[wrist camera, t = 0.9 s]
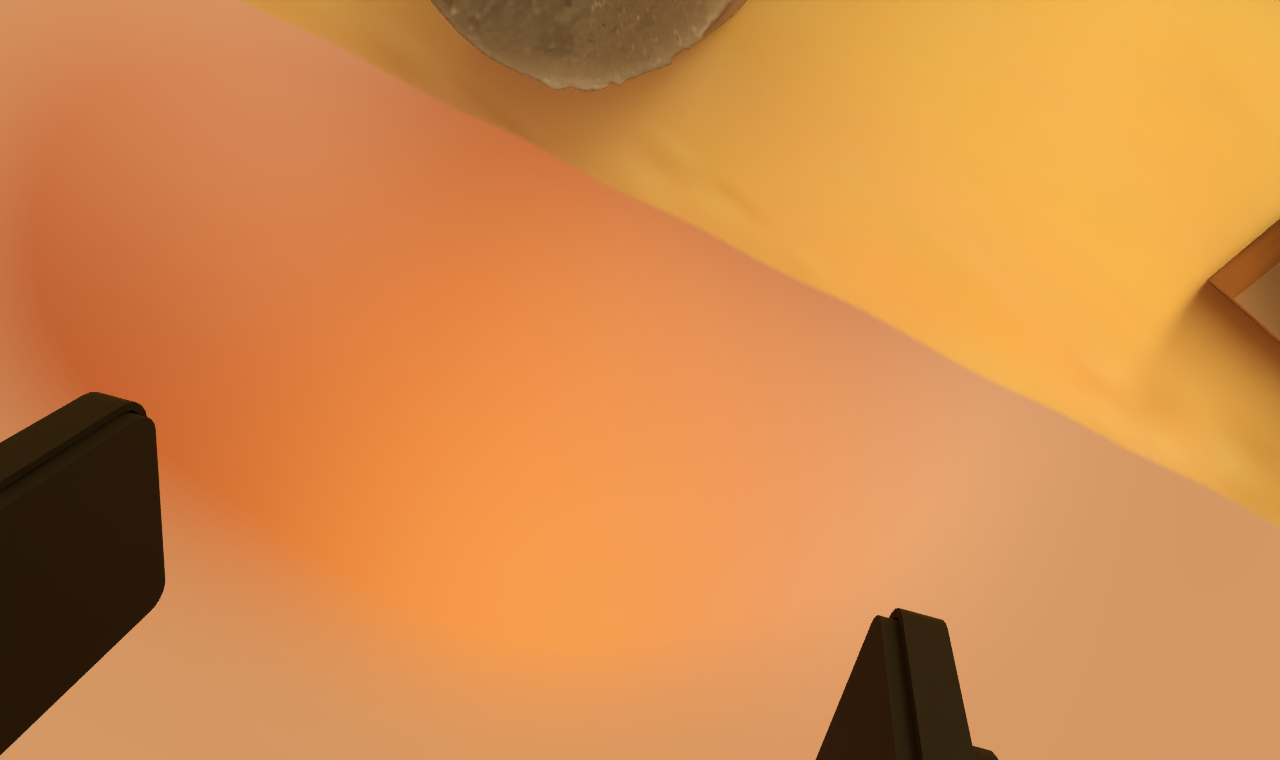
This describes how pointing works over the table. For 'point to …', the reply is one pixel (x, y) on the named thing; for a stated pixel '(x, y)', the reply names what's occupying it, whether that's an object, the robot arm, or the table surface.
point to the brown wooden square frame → (1255, 280)
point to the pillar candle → (585, 35)
